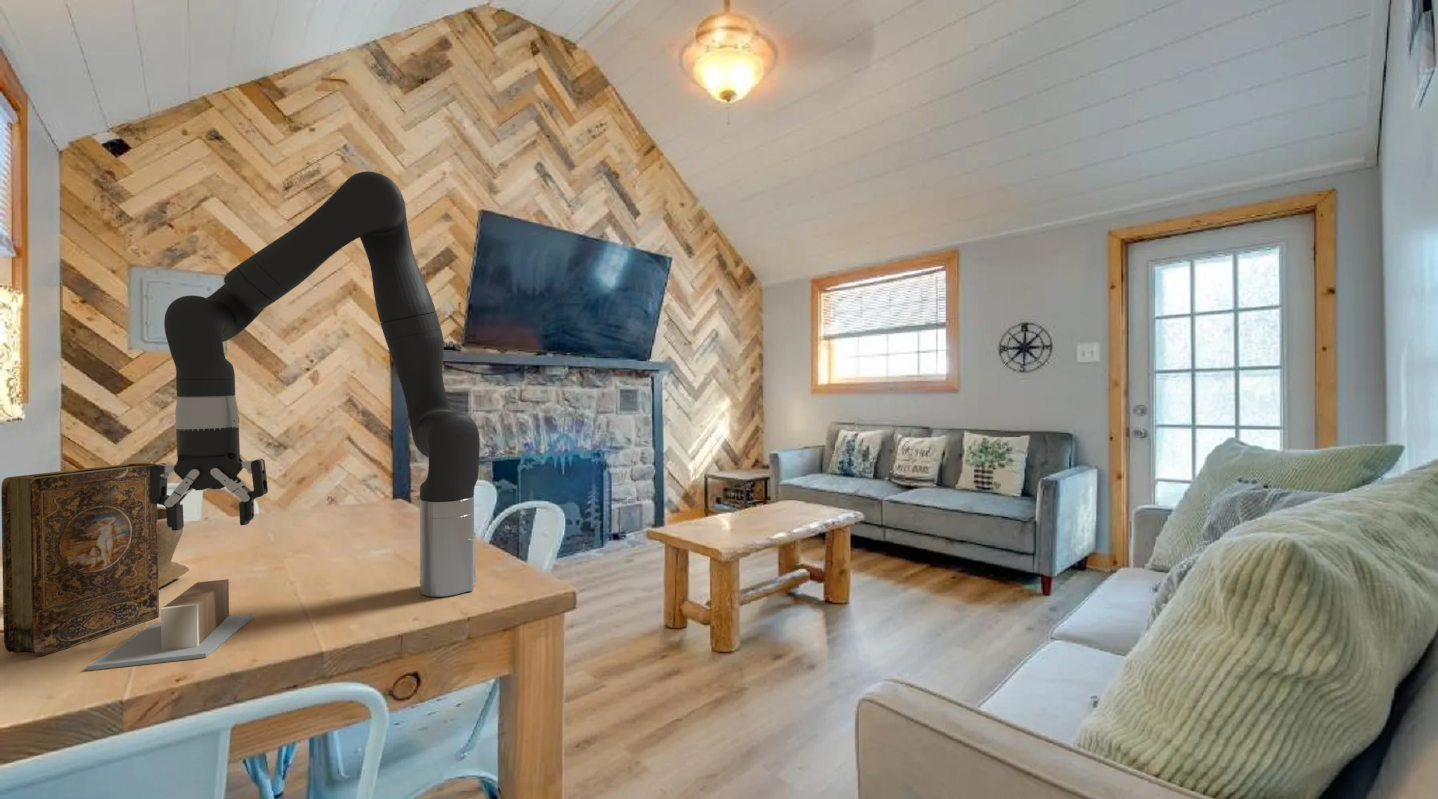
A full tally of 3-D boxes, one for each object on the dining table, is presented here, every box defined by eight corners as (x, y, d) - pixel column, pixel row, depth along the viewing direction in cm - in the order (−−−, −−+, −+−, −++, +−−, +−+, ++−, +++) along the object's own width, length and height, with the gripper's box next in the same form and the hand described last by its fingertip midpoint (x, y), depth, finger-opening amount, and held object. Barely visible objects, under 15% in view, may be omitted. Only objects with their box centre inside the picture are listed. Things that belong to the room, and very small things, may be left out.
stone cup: (156, 601, 104) (155, 516, 103) (74, 605, 101) (72, 518, 101) (210, 573, 119) (209, 499, 118) (139, 577, 116) (138, 501, 116)
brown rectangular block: (228, 579, 96) (196, 605, 85) (229, 616, 96) (197, 646, 85) (197, 582, 94) (160, 608, 83) (197, 619, 94) (161, 651, 83)
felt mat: (253, 617, 97) (253, 613, 97) (206, 657, 83) (205, 653, 83) (154, 626, 93) (154, 622, 93) (87, 670, 79) (86, 666, 79)
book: (140, 611, 99) (137, 462, 98) (166, 614, 98) (163, 463, 97) (3, 655, 83) (-1, 477, 82) (33, 659, 82) (29, 479, 81)
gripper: (136, 428, 87) (141, 537, 88) (255, 425, 93) (259, 527, 93) (161, 424, 94) (166, 525, 95) (270, 421, 99) (273, 517, 100)
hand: (212, 526), depth 94 cm, fingers open, 8 cm apart
